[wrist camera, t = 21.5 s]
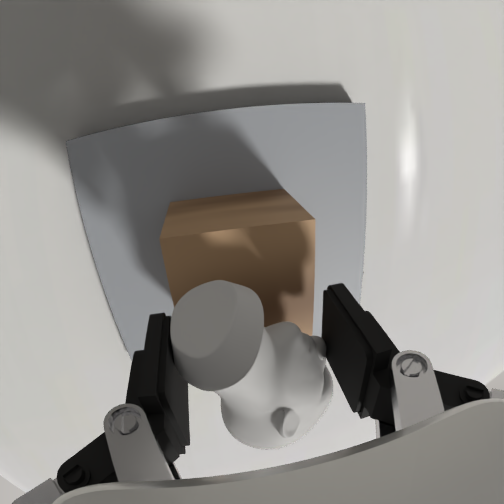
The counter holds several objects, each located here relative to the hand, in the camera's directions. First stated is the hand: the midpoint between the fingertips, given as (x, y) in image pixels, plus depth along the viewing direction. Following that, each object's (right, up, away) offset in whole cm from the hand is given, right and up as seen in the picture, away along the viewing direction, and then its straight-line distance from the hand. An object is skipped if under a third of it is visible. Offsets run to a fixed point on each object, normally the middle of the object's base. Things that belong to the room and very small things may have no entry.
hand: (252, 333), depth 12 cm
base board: (-1, +3, +8) cm, 9 cm away
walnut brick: (-1, +3, +6) cm, 7 cm away
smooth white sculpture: (0, -1, +1) cm, 1 cm away
